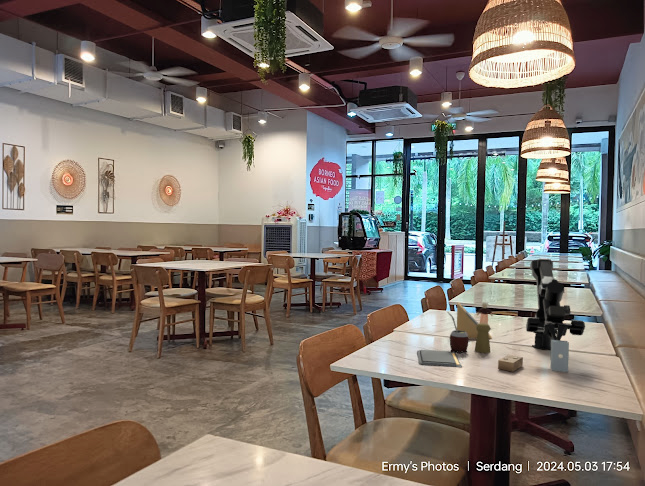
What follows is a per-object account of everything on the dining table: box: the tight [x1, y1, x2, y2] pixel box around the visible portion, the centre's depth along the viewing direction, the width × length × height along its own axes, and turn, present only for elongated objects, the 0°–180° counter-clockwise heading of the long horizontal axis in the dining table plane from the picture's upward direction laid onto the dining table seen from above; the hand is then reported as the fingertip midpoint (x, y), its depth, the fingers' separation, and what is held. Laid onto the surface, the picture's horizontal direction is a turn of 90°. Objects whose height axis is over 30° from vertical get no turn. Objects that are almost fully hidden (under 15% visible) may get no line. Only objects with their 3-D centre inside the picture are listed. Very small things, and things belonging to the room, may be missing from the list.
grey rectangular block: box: [550, 339, 570, 373], centre depth 162 cm, size 4×5×10 cm
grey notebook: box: [416, 349, 463, 369], centre depth 174 cm, size 20×2×15 cm
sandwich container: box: [456, 301, 493, 340], centre depth 214 cm, size 9×15×15 cm, turn 75°
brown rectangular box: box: [497, 354, 524, 373], centre depth 164 cm, size 4×5×10 cm
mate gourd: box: [447, 311, 470, 355], centre depth 185 cm, size 8×8×15 cm
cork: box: [474, 322, 491, 354], centre depth 187 cm, size 6×6×11 cm
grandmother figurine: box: [476, 300, 494, 325], centre depth 238 cm, size 8×4×13 cm, turn 80°
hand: (557, 346), depth 166 cm, fingers closed
